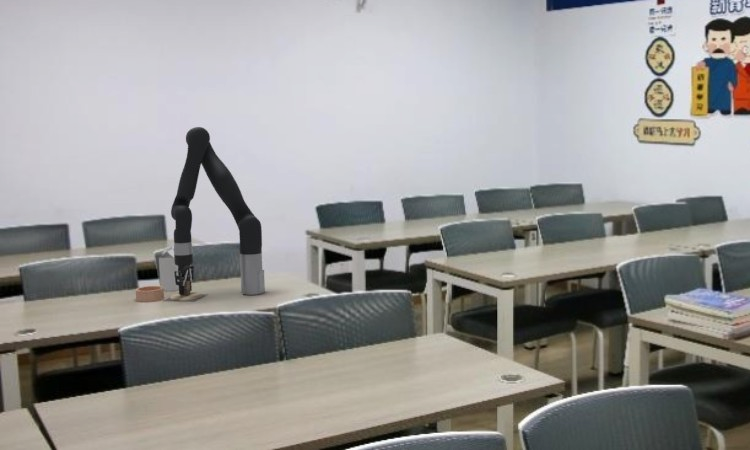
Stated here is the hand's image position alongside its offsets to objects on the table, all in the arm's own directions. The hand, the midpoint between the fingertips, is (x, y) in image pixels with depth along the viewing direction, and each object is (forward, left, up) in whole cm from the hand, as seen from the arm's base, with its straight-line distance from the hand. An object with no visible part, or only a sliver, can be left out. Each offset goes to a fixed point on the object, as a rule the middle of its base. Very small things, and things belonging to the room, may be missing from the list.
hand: (185, 292), depth 341 cm
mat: (0, 0, -3) cm, 3 cm away
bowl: (+14, +4, -3) cm, 15 cm away
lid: (0, 0, -2) cm, 2 cm away
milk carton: (+14, -16, -3) cm, 21 cm away
